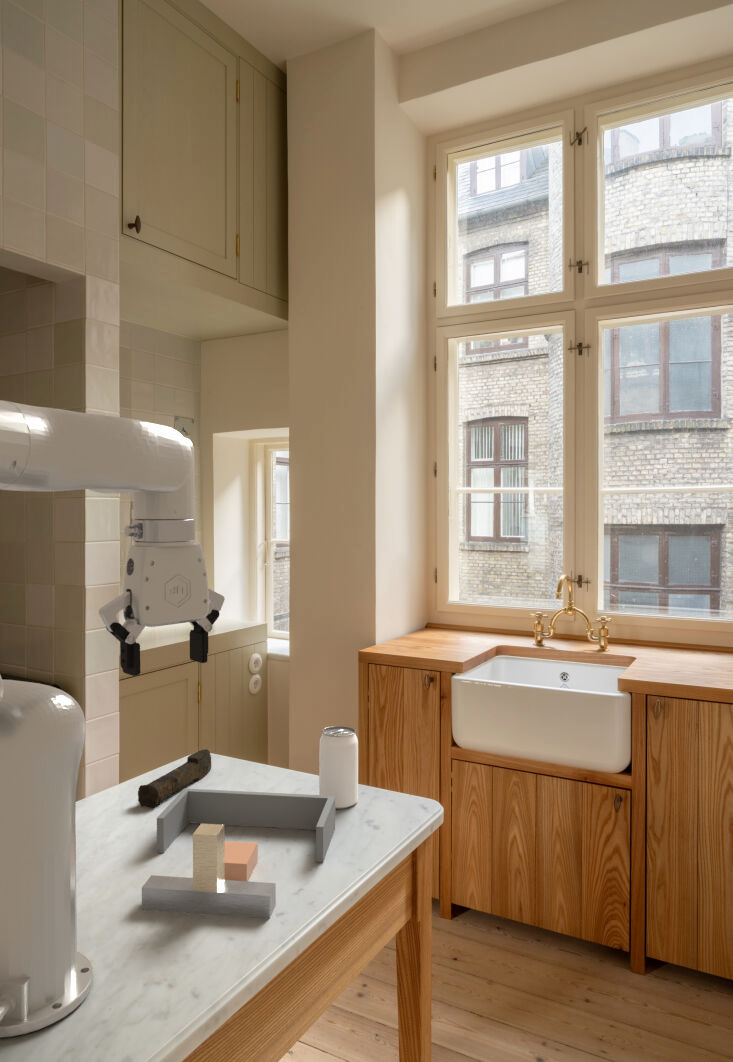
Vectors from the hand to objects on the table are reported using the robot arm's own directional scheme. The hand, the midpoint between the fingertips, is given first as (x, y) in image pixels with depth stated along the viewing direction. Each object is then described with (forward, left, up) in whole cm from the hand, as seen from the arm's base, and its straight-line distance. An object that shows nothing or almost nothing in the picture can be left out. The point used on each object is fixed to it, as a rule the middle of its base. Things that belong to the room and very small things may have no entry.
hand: (166, 667), depth 94 cm
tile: (+5, -7, -29) cm, 30 cm away
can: (+30, -18, -29) cm, 46 cm away
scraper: (-4, -7, -29) cm, 30 cm away
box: (+14, -7, -29) cm, 33 cm away
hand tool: (+33, +11, -29) cm, 46 cm away
